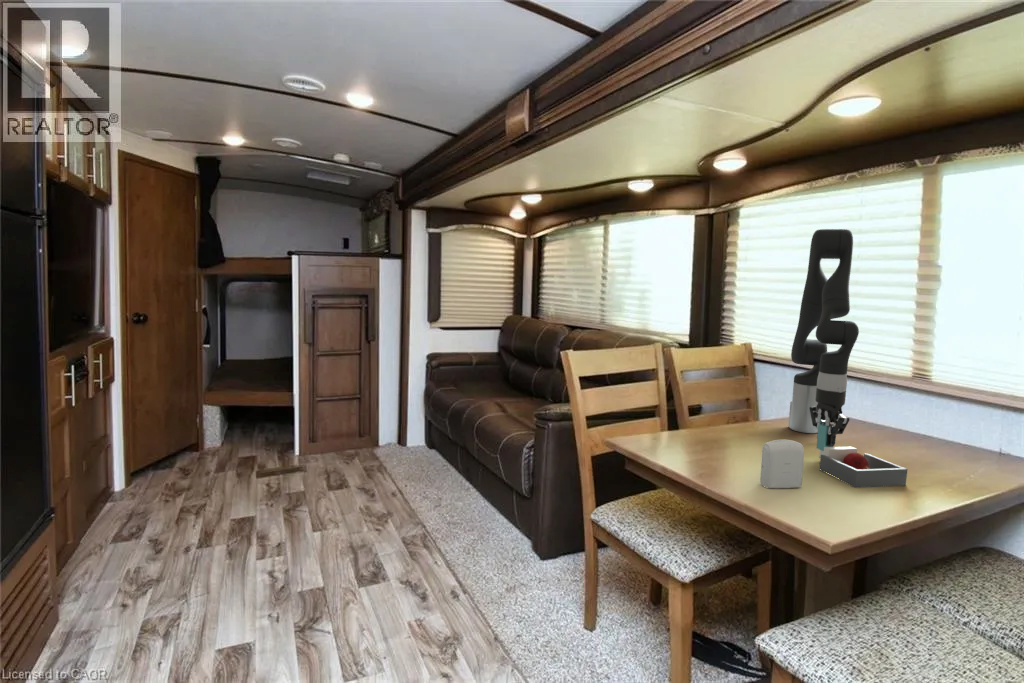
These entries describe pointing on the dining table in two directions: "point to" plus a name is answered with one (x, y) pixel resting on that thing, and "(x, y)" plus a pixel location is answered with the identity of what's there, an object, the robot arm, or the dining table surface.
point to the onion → (856, 461)
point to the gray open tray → (866, 472)
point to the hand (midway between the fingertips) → (825, 444)
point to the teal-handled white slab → (831, 452)
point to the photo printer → (782, 464)
